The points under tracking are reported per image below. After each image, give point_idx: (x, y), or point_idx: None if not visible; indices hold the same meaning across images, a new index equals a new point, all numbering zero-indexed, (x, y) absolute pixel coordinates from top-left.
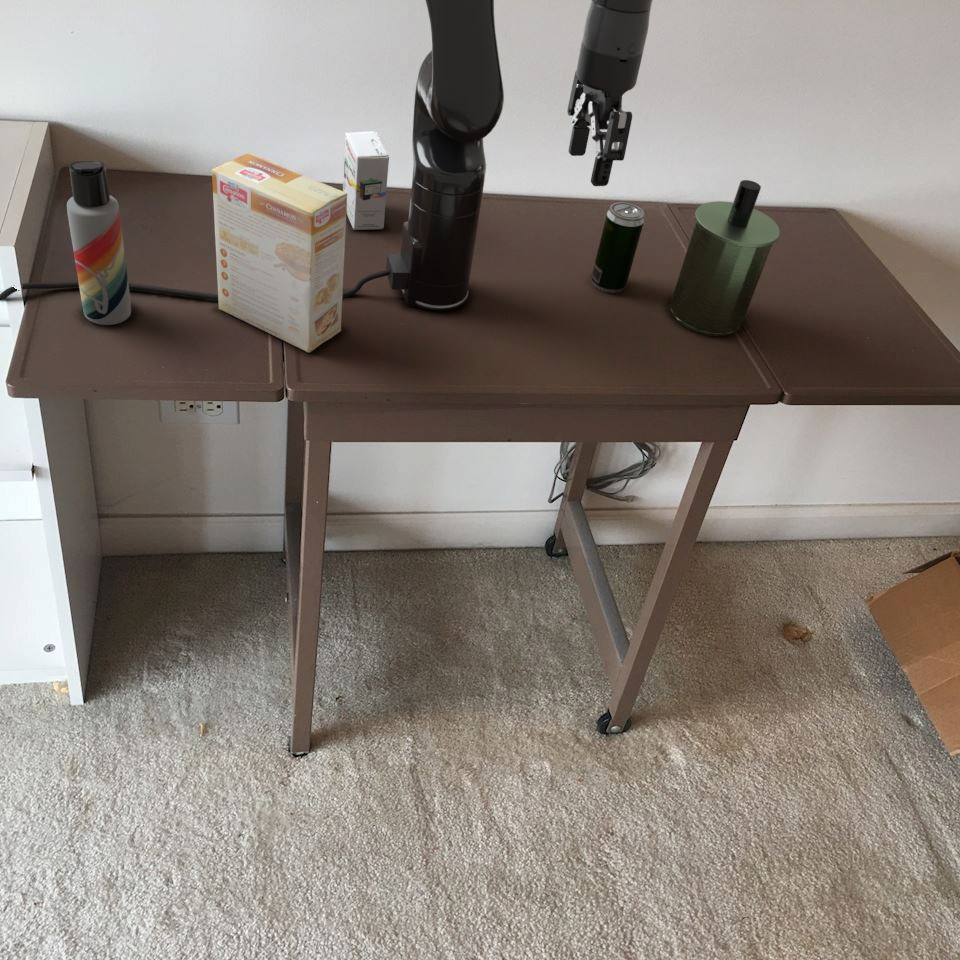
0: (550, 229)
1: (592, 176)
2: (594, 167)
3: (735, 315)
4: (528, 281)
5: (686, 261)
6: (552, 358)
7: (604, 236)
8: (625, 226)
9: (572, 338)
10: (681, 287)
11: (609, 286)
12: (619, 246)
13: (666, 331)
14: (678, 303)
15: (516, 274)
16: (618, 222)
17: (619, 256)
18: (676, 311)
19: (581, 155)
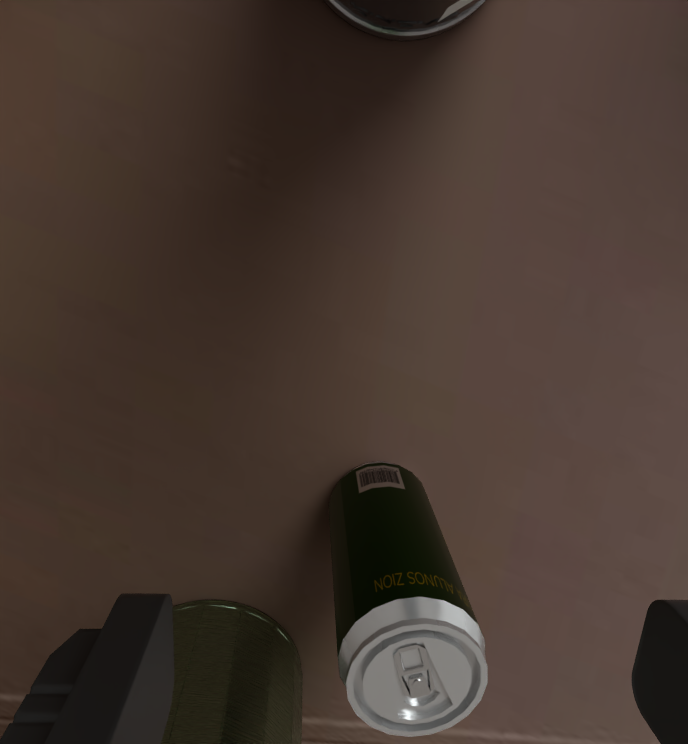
0: (673, 450)
1: (127, 633)
2: (95, 713)
3: None
4: (426, 281)
5: (204, 737)
6: (23, 199)
7: (399, 548)
8: (346, 634)
9: (125, 301)
10: (197, 667)
11: (334, 494)
12: (341, 574)
13: (150, 560)
14: (194, 632)
15: (469, 258)
16: (366, 620)
17: (335, 558)
18: (197, 614)
19: (634, 672)
